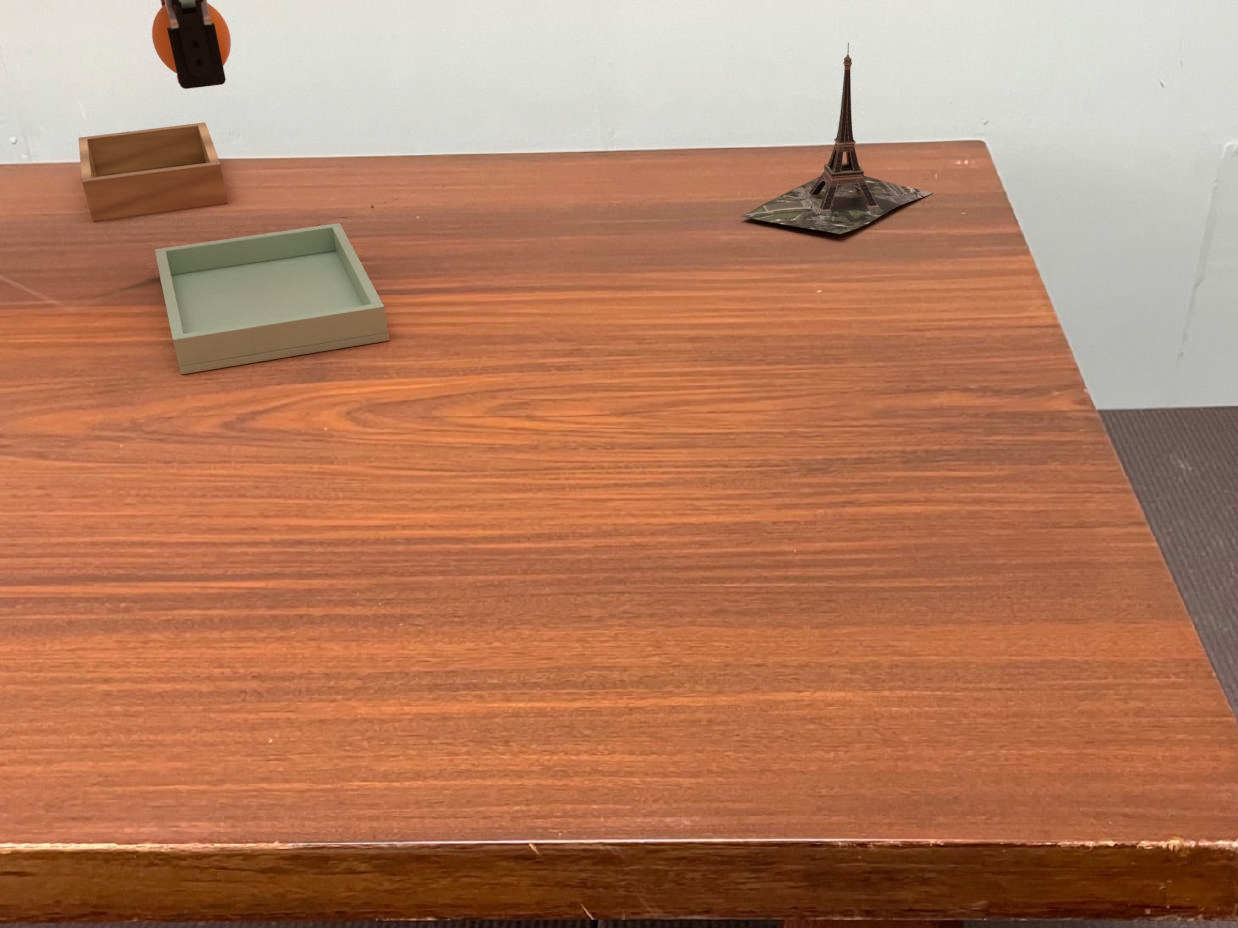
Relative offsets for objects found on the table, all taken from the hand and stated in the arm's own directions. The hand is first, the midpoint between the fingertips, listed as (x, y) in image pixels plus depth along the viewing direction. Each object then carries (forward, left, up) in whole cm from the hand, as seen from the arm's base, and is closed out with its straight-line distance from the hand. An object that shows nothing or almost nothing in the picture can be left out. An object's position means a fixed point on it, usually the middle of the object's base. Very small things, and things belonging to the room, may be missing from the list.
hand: (198, 73), depth 107 cm
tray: (-2, -7, -16) cm, 17 cm away
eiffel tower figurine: (+42, -27, -16) cm, 53 cm away
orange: (0, 0, 0) cm, 0 cm away
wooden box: (+8, +25, -16) cm, 31 cm away
